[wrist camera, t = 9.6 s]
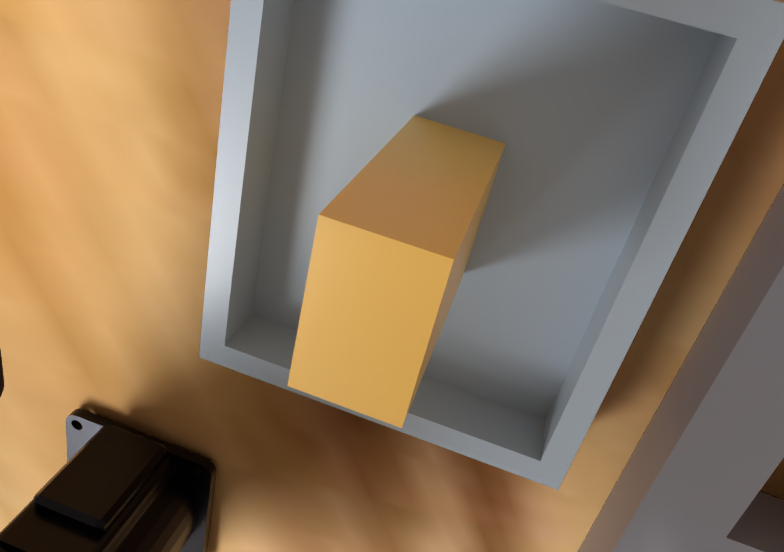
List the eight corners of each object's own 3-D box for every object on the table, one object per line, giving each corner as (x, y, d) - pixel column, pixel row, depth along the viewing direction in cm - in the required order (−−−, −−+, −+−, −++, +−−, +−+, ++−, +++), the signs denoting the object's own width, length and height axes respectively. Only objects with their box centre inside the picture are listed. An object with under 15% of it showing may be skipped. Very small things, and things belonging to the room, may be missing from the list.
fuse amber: (464, 272, 20) (401, 428, 14) (382, 245, 20) (287, 386, 14) (505, 143, 18) (454, 259, 12) (414, 115, 18) (318, 214, 12)
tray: (562, 434, 22) (558, 490, 20) (235, 317, 24) (198, 357, 21) (772, -6, 15) (799, 7, 13) (290, -132, 17) (244, -140, 14)
